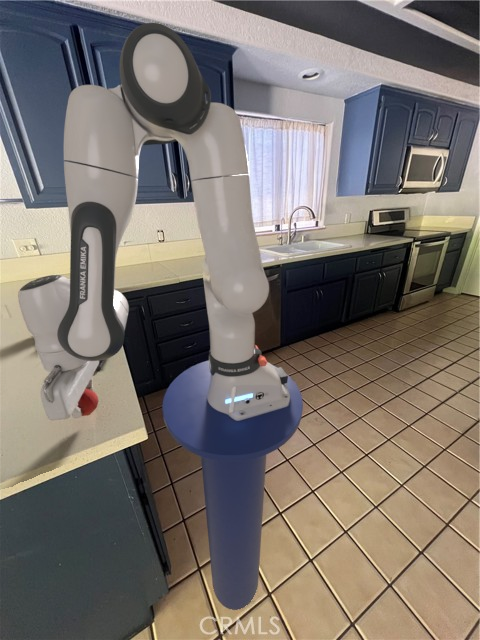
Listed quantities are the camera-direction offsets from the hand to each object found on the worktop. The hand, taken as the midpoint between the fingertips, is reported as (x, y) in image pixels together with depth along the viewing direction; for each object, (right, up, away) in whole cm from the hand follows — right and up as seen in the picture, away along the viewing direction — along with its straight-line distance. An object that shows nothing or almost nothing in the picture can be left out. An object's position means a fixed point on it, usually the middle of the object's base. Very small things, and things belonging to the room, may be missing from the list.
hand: (84, 403), depth 61 cm
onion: (0, -3, +1) cm, 3 cm away
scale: (-14, +6, +23) cm, 27 cm away
